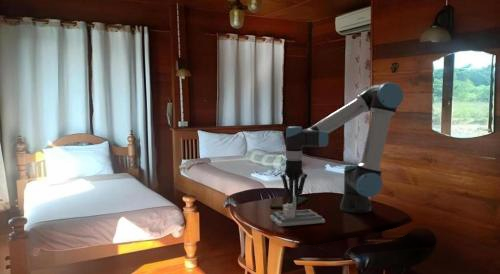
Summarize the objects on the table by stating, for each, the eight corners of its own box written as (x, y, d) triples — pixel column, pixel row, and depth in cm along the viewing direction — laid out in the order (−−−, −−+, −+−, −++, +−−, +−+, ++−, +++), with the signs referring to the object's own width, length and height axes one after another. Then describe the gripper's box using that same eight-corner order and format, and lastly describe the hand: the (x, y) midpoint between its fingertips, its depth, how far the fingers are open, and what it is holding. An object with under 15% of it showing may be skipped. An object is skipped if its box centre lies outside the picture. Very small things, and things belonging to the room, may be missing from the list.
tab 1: (290, 214, 193) (290, 202, 192) (293, 216, 190) (293, 204, 189) (282, 215, 192) (282, 203, 191) (285, 216, 189) (285, 205, 188)
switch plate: (313, 215, 197) (313, 209, 197) (324, 222, 185) (324, 216, 184) (270, 218, 192) (270, 212, 191) (278, 226, 179) (279, 219, 179)
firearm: (283, 194, 236) (308, 196, 230) (282, 198, 236) (308, 200, 230) (267, 205, 209) (295, 208, 204) (267, 210, 209) (295, 212, 204)
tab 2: (292, 218, 186) (292, 206, 185) (294, 220, 182) (295, 208, 182) (284, 219, 185) (284, 207, 184) (286, 221, 181) (286, 209, 181)
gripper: (303, 158, 195) (303, 206, 196) (278, 159, 191) (277, 208, 193) (310, 160, 187) (309, 210, 189) (283, 161, 184) (283, 212, 186)
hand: (293, 209), depth 191 cm, fingers closed
